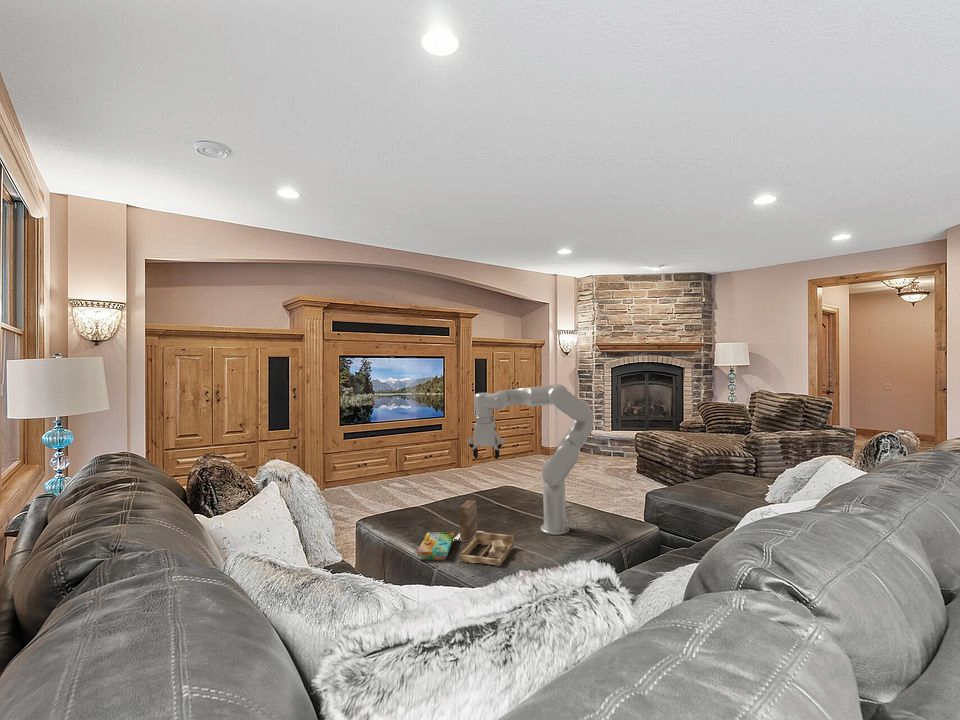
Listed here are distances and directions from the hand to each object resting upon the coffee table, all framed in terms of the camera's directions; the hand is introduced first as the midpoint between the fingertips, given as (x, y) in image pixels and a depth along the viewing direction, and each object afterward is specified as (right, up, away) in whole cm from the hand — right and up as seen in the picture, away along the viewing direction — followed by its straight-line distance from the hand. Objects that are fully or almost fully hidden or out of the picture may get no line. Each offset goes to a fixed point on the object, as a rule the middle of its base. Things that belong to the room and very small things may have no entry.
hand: (486, 458), depth 230 cm
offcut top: (+4, -30, -28) cm, 41 cm away
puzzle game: (-20, -34, -22) cm, 45 cm away
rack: (0, -33, -28) cm, 43 cm away
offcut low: (+4, -33, -28) cm, 44 cm away
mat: (-8, -32, -9) cm, 34 cm away
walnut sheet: (-8, -32, -9) cm, 34 cm away
